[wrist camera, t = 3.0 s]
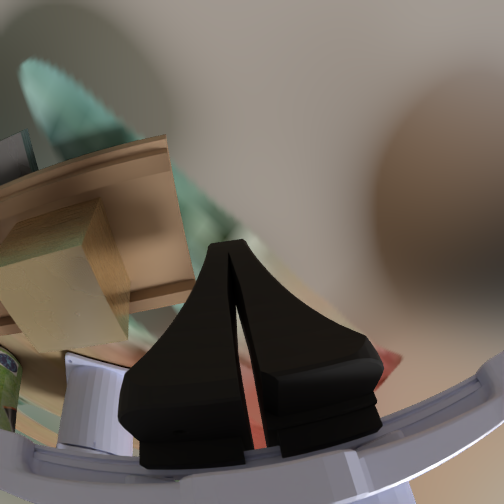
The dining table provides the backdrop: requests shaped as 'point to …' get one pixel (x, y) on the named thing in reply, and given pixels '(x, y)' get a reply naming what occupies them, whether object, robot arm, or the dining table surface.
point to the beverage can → (9, 389)
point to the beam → (116, 215)
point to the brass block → (66, 279)
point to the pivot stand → (16, 157)
